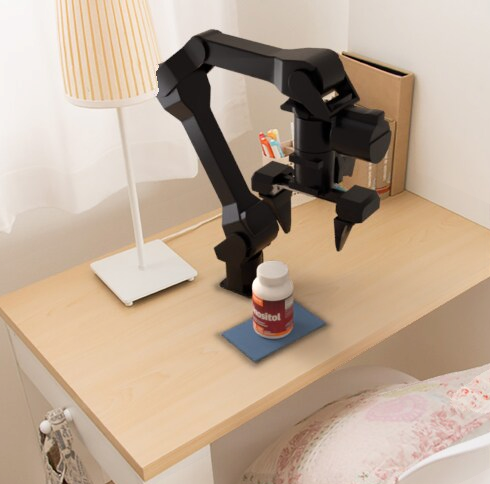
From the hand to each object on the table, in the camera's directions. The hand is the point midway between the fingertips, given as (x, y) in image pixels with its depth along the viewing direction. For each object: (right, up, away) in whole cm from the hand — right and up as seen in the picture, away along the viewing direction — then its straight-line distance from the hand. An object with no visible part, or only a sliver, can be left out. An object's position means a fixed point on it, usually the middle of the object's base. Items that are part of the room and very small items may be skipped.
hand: (313, 241), depth 112 cm
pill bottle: (-6, -13, +3) cm, 15 cm away
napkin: (-6, -14, +4) cm, 15 cm away
